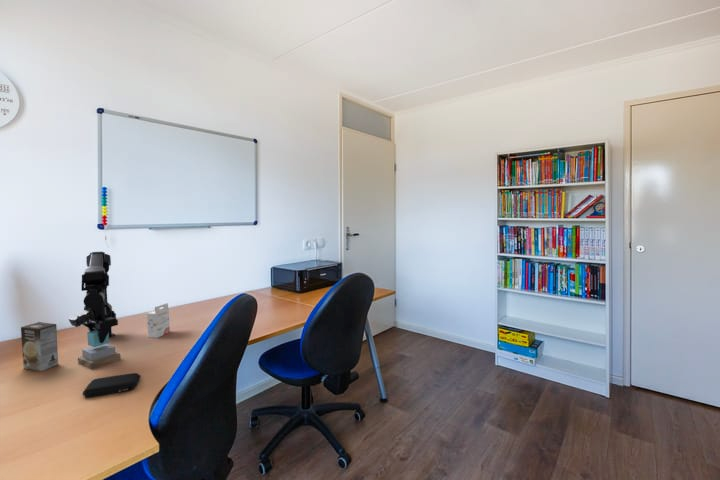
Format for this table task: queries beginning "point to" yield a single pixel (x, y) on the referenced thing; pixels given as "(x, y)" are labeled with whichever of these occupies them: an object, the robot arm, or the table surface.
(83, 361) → the tan flat square block
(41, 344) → the coffee box
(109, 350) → the grey slab
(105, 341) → the teal cube
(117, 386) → the carrying case or bag
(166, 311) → the ink cartridge box
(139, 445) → the table surface
